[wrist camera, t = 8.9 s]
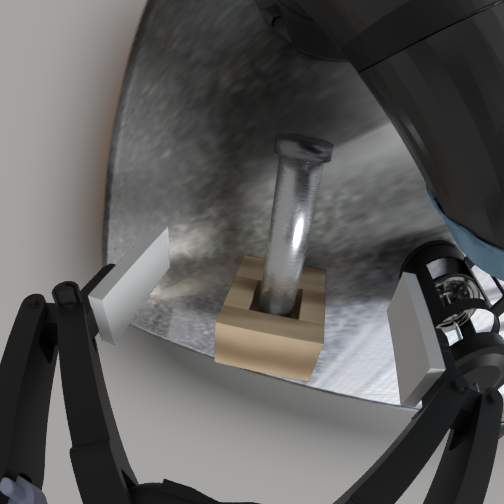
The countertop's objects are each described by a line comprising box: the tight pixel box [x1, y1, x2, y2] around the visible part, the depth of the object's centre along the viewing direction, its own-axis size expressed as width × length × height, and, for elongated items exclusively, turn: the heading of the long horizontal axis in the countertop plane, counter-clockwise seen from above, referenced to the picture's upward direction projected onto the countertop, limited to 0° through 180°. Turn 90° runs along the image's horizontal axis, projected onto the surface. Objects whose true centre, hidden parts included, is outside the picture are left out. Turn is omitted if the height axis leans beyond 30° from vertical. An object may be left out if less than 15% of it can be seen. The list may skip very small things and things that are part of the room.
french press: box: [399, 240, 504, 439], centre depth 24 cm, size 12×9×23 cm
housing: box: [215, 255, 326, 381], centre depth 34 cm, size 6×10×12 cm, turn 84°
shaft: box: [258, 134, 334, 318], centre depth 29 cm, size 21×5×5 cm, turn 174°
